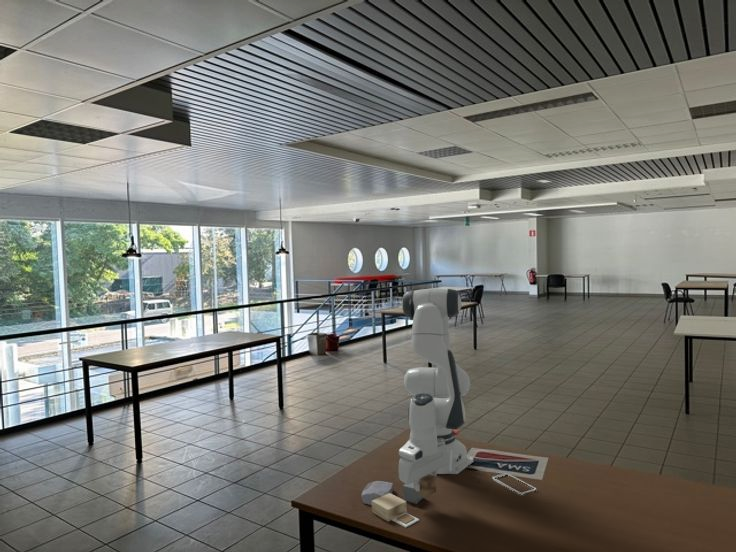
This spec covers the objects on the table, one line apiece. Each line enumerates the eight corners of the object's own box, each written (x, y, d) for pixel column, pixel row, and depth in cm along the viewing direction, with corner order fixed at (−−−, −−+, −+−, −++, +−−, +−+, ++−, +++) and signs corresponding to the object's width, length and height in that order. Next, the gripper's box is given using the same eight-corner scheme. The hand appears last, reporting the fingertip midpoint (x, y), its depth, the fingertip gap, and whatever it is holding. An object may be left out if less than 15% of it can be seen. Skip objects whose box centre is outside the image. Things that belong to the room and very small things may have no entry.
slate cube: (410, 494, 170) (410, 480, 170) (423, 497, 167) (422, 483, 167) (403, 500, 166) (402, 485, 165) (416, 504, 163) (416, 489, 163)
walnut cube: (424, 486, 163) (424, 471, 162) (436, 491, 159) (435, 476, 159) (414, 491, 159) (413, 477, 159) (425, 497, 156) (425, 482, 155)
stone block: (360, 509, 164) (389, 506, 161) (357, 495, 164) (386, 491, 162) (369, 494, 175) (395, 491, 173) (366, 481, 176) (392, 477, 173)
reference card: (405, 513, 157) (405, 511, 157) (419, 520, 152) (419, 518, 152) (392, 520, 153) (391, 518, 153) (405, 527, 148) (405, 525, 148)
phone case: (491, 480, 180) (521, 497, 166) (491, 476, 179) (521, 493, 166) (506, 476, 183) (537, 492, 169) (506, 472, 183) (537, 488, 169)
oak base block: (390, 504, 163) (390, 492, 163) (406, 513, 157) (406, 501, 157) (371, 513, 158) (371, 500, 158) (388, 522, 152) (387, 509, 152)
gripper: (437, 433, 167) (438, 472, 168) (394, 452, 154) (396, 494, 155) (451, 438, 163) (453, 478, 164) (409, 458, 149) (410, 501, 150)
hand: (425, 486), depth 159 cm, fingers closed on walnut cube, 5 cm apart
